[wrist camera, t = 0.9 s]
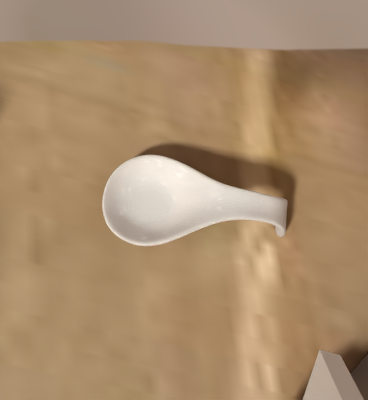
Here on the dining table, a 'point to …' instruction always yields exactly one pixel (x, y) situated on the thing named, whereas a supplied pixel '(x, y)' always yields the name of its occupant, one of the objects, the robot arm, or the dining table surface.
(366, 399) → the arm
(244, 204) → the spoon rest
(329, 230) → the dining table surface
